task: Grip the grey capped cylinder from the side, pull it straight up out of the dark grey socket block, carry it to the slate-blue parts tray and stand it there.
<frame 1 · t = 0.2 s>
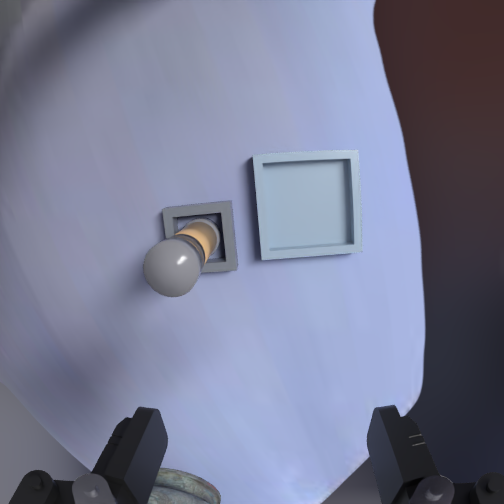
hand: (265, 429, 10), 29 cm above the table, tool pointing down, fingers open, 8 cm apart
socket block: (202, 236, 38), on the table
parts tray: (308, 202, 37), on the table
grey capped cylinder: (202, 236, 38), resting in socket block
vessel: (178, 490, 52), on the table
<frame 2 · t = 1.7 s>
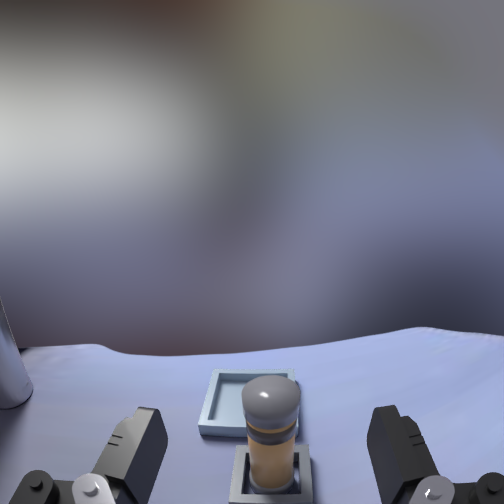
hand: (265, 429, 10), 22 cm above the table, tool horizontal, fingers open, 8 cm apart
socket block: (271, 481, 27), on the table
parts tray: (251, 405, 39), on the table
grey capped cylinder: (271, 482, 27), resting in socket block
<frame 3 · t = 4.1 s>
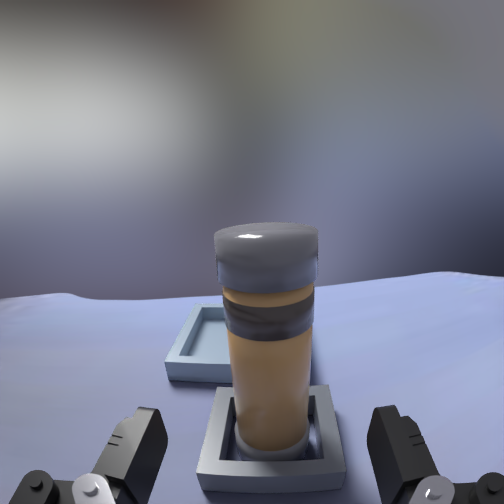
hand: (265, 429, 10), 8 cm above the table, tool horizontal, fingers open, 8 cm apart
socket block: (272, 445, 18), on the table
parts tray: (243, 345, 30), on the table
grey capped cylinder: (272, 445, 18), resting in socket block
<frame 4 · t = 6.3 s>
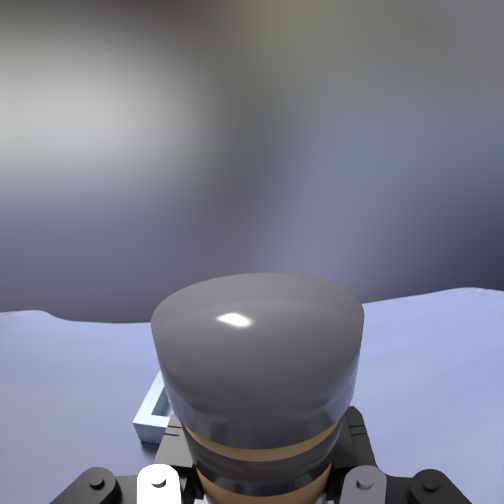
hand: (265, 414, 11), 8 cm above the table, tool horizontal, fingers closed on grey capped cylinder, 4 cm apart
parts tray: (234, 394, 23), on the table
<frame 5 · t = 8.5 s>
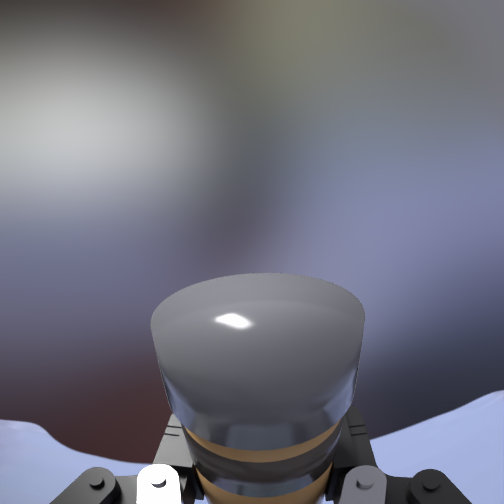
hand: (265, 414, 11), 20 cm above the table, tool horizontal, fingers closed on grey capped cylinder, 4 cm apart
when the fingers open (9 cm above the table, at t = 11.0 s): grey capped cylinder stays where it is, resting on parts tray.
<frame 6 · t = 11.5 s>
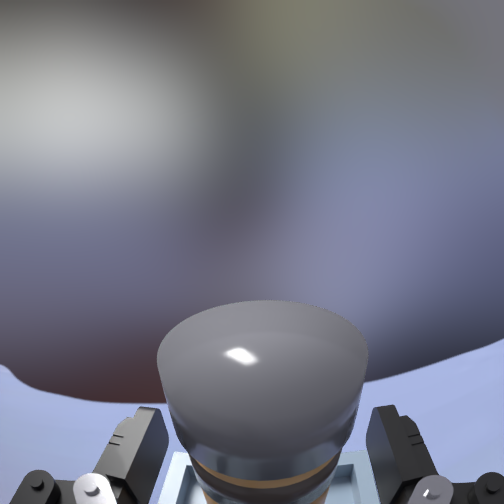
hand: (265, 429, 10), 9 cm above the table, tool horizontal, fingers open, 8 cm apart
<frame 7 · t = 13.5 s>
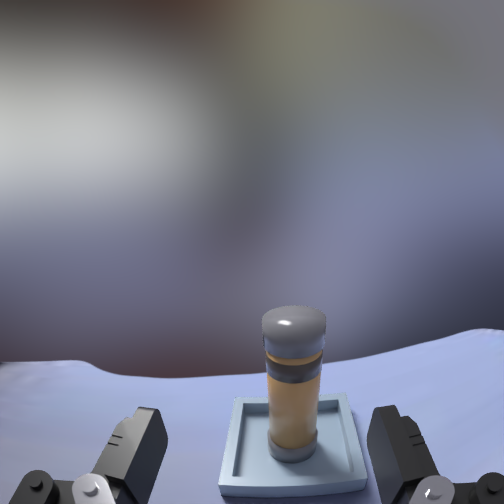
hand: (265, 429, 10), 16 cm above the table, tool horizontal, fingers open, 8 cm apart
parts tray: (292, 448, 26), on the table
grey capped cylinder: (292, 446, 25), point 1 cm above the table, touching parts tray
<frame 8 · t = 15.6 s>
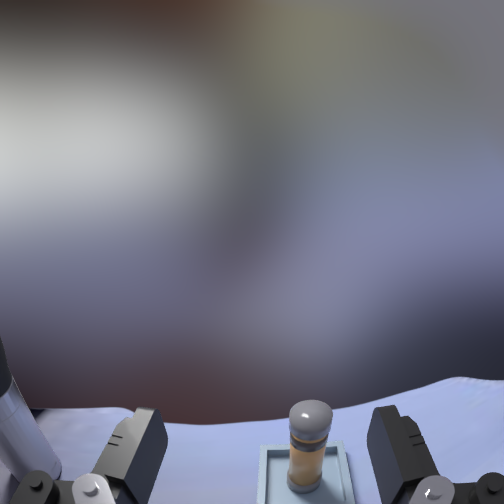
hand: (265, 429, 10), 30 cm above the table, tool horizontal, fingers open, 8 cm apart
parts tray: (303, 482, 33), on the table
grey capped cylinder: (303, 481, 33), point 1 cm above the table, touching parts tray
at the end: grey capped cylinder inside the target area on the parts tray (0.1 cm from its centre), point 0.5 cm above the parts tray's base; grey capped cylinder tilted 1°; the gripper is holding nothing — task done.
